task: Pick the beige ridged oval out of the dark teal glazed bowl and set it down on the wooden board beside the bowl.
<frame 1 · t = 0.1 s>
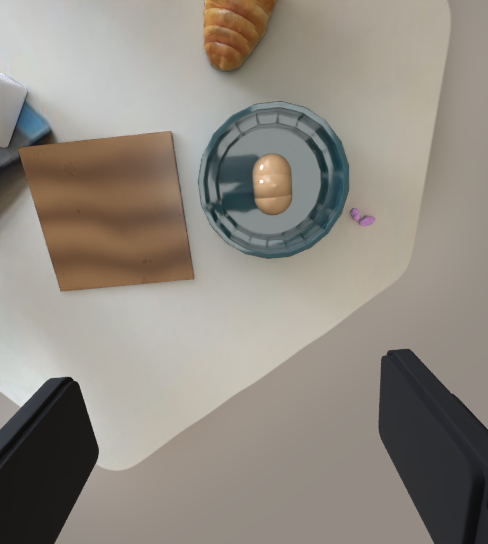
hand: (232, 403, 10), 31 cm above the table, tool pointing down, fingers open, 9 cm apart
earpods: (360, 216, 39), on the table
beige ridged oval: (270, 184, 37), resting on bowl
pastry: (239, 19, 33), on the table
bowl: (270, 184, 38), on the table
wooden board: (112, 217, 39), on the table
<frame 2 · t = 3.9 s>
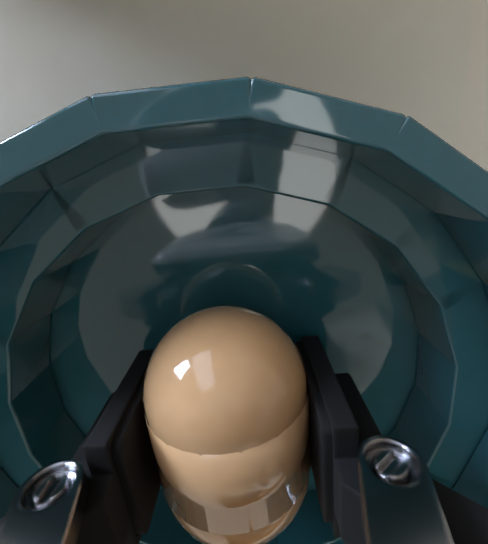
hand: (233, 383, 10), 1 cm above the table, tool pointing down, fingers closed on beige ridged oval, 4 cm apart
beige ridged oval: (234, 373, 11), resting on bowl, touching gripper
bowl: (234, 367, 11), on the table
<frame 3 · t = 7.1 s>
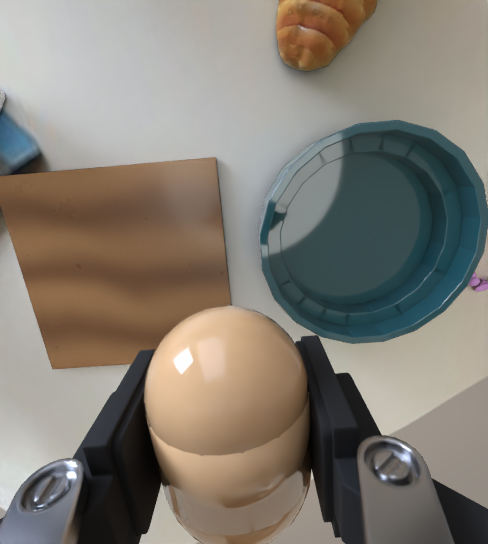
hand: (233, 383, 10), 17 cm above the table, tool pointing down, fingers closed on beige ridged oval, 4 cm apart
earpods: (474, 278, 28), on the table
beige ridged oval: (234, 373, 11), point 17 cm above the table, touching gripper
bowl: (353, 233, 26), on the table
wooden board: (126, 273, 28), on the table
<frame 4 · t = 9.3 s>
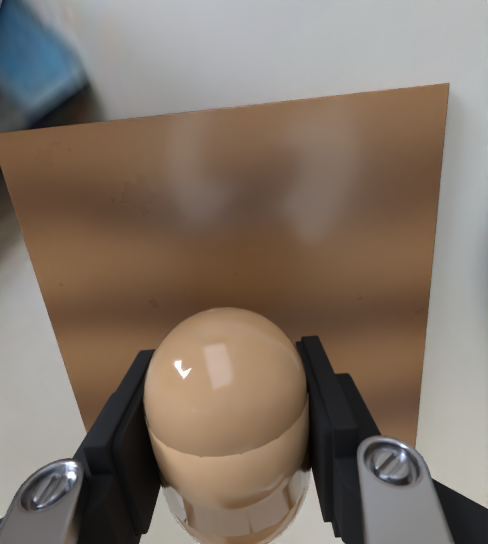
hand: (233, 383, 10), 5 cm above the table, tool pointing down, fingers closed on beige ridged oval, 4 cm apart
beige ridged oval: (234, 374, 11), point 4 cm above the table, touching gripper
wooden board: (238, 314, 15), on the table
when the fingers open (1 cm above the table, at t = 10.8 s): beige ridged oval stays where it is, resting on wooden board.
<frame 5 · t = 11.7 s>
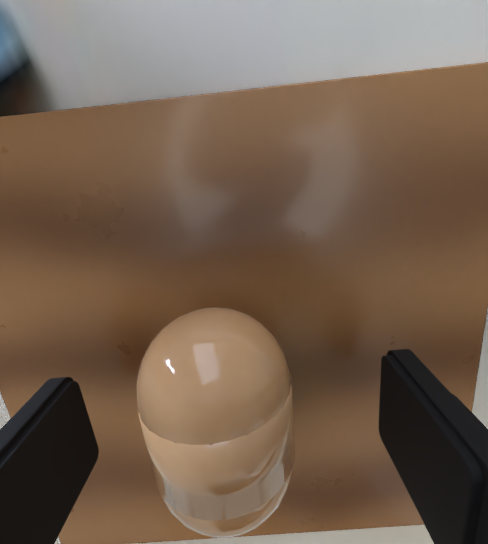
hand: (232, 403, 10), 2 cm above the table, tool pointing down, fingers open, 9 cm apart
beige ridged oval: (233, 370, 11), resting on wooden board, tilted 8°
wooden board: (234, 361, 12), on the table
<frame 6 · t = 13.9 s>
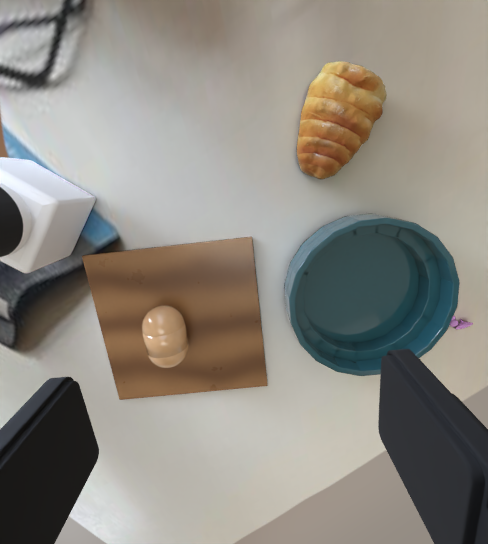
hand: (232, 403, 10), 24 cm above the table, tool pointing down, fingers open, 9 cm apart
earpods: (454, 318, 35), on the table
medicine bottle: (53, 209, 32), on the table
beige ridged oval: (179, 327, 35), point 1 cm above the table, tilted 29°, touching wooden board
pastry: (334, 122, 30), on the table
bowl: (358, 288, 34), on the table
wooden board: (181, 323, 35), on the table
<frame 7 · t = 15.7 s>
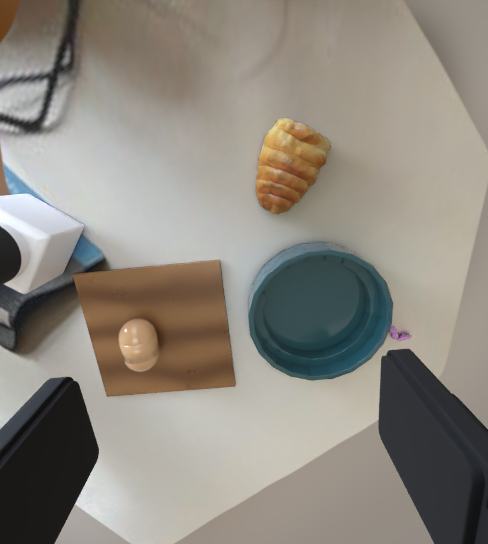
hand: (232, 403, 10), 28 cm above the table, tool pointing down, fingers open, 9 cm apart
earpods: (397, 331, 41), on the table
medicine bottle: (47, 234, 37), on the table
beige ridged oval: (155, 337, 40), point 1 cm above the table, tilted 47°, touching wooden board
pastry: (289, 164, 34), on the table
bowl: (312, 304, 39), on the table
wooden board: (159, 332, 41), on the table
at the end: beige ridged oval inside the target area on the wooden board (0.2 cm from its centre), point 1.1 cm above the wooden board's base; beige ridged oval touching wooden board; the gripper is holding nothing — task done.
